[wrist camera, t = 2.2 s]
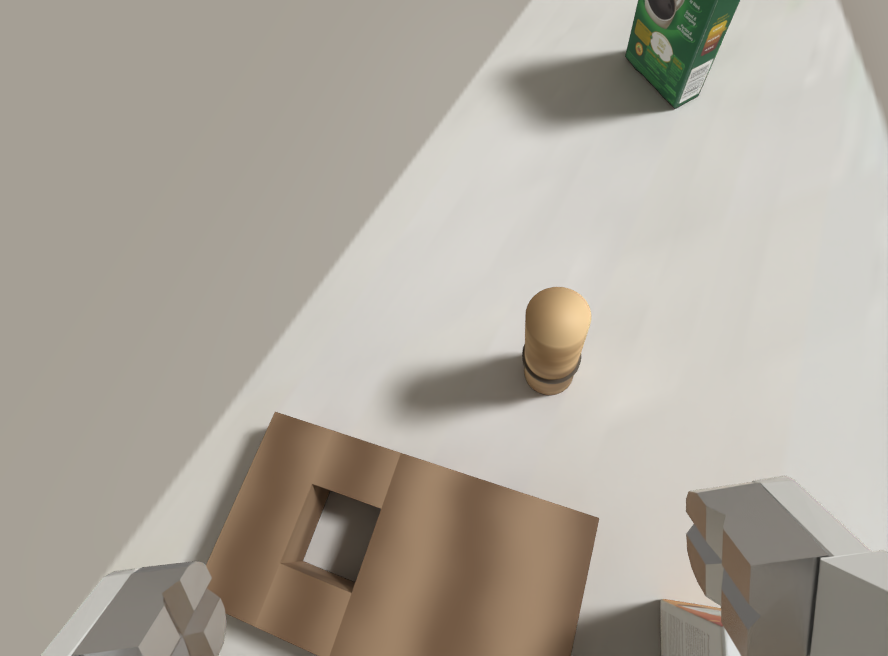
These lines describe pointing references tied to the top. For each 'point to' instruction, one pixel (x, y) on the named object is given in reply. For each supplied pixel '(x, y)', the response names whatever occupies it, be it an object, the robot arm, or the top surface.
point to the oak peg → (554, 338)
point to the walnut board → (399, 555)
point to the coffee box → (678, 43)
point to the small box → (693, 631)
